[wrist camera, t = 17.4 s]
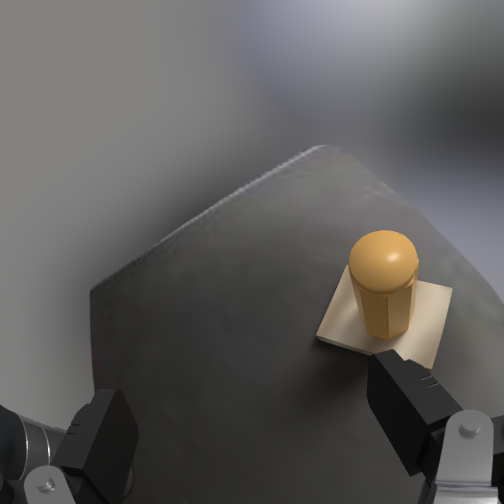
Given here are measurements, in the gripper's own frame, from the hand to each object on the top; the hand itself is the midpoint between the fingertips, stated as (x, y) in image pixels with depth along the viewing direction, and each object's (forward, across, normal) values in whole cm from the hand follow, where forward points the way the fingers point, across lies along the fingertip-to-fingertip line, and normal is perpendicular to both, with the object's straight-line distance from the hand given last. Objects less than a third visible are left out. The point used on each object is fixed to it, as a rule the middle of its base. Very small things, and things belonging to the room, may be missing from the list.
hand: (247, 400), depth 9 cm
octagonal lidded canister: (+22, -16, +10) cm, 29 cm away
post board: (+23, -16, +11) cm, 30 cm away
